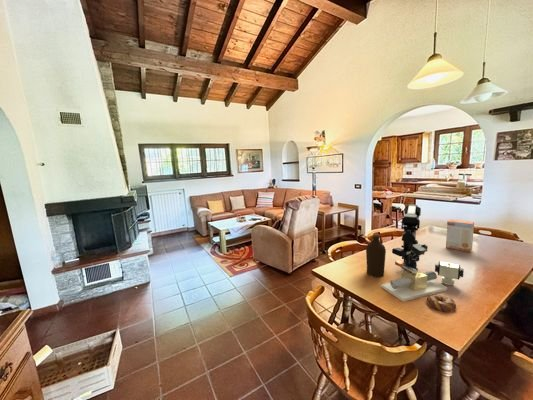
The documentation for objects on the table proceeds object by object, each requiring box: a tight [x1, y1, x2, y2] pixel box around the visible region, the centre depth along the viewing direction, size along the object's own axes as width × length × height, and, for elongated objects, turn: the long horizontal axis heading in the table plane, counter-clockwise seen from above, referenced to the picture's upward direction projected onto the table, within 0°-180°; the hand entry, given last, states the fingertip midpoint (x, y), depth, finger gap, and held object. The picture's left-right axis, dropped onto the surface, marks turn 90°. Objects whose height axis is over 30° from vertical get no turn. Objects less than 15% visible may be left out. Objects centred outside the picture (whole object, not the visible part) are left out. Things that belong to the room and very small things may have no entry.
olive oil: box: [365, 233, 387, 278], centre depth 135 cm, size 11×11×25 cm
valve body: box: [389, 269, 438, 291], centre depth 119 cm, size 8×26×7 cm, turn 105°
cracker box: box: [445, 219, 475, 253], centre depth 163 cm, size 14×6×21 cm, turn 38°
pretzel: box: [426, 294, 457, 313], centre depth 105 cm, size 12×11×4 cm
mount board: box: [381, 280, 448, 302], centre depth 120 cm, size 14×28×2 cm, turn 105°
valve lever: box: [394, 260, 418, 274], centre depth 123 cm, size 12×3×2 cm, turn 15°
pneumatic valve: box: [434, 261, 464, 286], centre depth 121 cm, size 6×12×12 cm, turn 51°
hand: (408, 264), depth 128 cm, fingers closed
